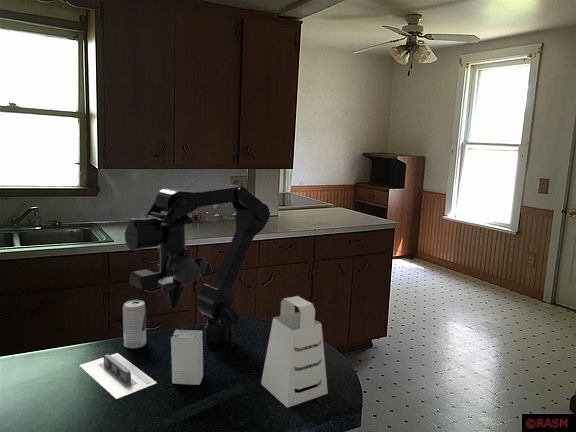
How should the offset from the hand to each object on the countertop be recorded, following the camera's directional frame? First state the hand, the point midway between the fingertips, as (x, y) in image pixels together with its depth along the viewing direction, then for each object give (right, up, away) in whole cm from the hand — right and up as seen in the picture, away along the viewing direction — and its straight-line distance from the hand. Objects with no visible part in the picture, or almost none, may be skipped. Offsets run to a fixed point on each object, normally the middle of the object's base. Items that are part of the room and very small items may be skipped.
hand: (172, 308), depth 109 cm
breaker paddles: (-10, -13, -8) cm, 18 cm away
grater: (+28, -16, -8) cm, 34 cm away
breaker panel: (-10, -14, -8) cm, 19 cm away
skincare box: (+5, -15, -9) cm, 18 cm away
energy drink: (-11, -12, +7) cm, 18 cm away
